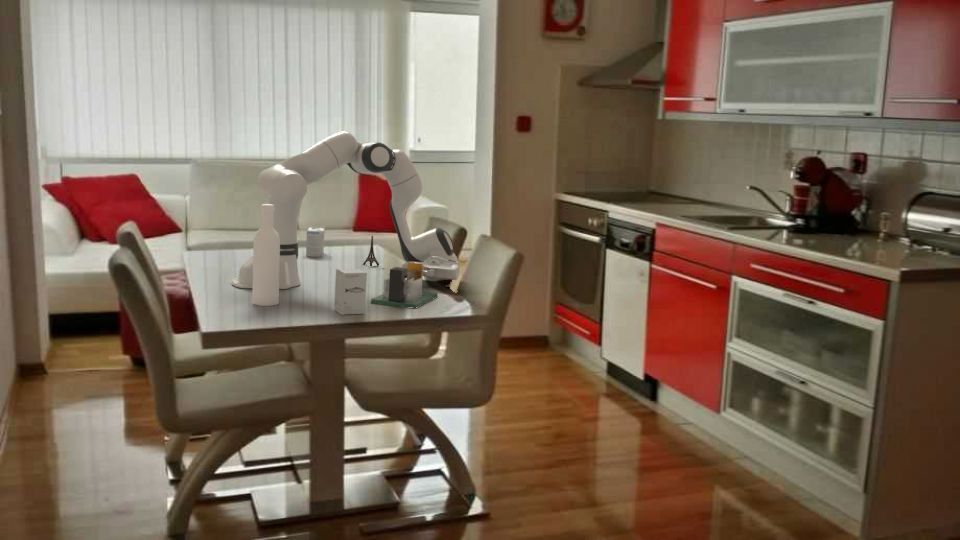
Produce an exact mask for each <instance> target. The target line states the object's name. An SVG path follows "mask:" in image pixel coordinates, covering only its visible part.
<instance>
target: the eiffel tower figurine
mask: <svg viewBox="0 0 960 540" xmlns="http://www.w3.org/2000/svg"><path fill="white" fill-rule="evenodd" d="M367 255H368V256H367V257H366V259H365V260H364V261H363V262H364V263H362V264H361V266H364V265H365V264H367V263H366V262H370V263H369V264H370V266H372V263H376V264H377V265H379V263H380V262H379V261H378V260H377V258H376V255H375V252H374V236H373V235H371V242H370V248H369V252H368V254H367Z"/></svg>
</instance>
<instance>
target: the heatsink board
mask: <svg viewBox="0 0 960 540" xmlns="http://www.w3.org/2000/svg"><path fill="white" fill-rule="evenodd" d="M407 272H408V268H402V267H400V266H395V267H393V268H390V269H389V277H387V278H385V279H384V280H383V291H382V294H379V295H377V296H375V297H373V298H371V299H370V303H371V304H377V305H386V306H392V305H393V306H394V307H400V306H404V307H403V308H408V307H413V308H412V309H417V308H416V307H418V306H419V307H421V306H423V305H425V304H427V303H429V302H430V300H431V301H433V300H434V299H436V298H437V297H438V295H439V294H438V293H437V292H430V291H423V278H422V279H421V278H420V279H417V280H415V281H414V278H412V277H411V278H409V279H407V278H404V276H405V275H407ZM435 297H436V298H435ZM433 298H434V299H433ZM428 301H429V302H428ZM426 302H427V303H426ZM424 303H425V304H424ZM422 304H423V305H422ZM420 305H421V306H420ZM419 307H418V308H419Z"/></svg>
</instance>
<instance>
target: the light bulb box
mask: <svg viewBox="0 0 960 540" xmlns="http://www.w3.org/2000/svg"><path fill="white" fill-rule="evenodd" d="M305 242H306V243H305V244H306V245H305V246H306V247H305V257H318V258H321V257H323V254H324V251H325V246H324V245H325V227H310V226H309V227H308V229H307V230H306V241H305Z"/></svg>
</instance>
